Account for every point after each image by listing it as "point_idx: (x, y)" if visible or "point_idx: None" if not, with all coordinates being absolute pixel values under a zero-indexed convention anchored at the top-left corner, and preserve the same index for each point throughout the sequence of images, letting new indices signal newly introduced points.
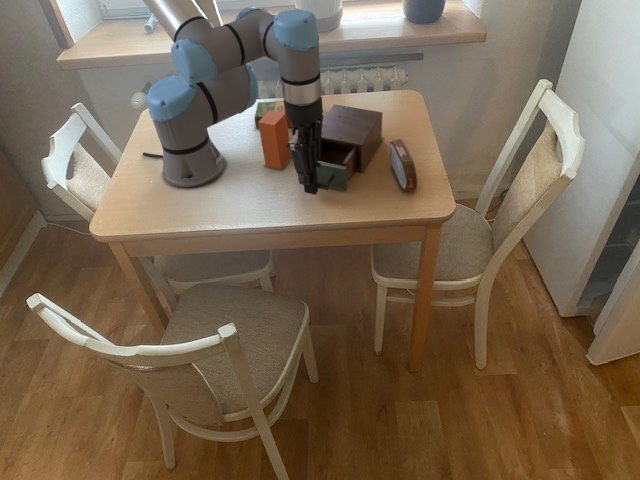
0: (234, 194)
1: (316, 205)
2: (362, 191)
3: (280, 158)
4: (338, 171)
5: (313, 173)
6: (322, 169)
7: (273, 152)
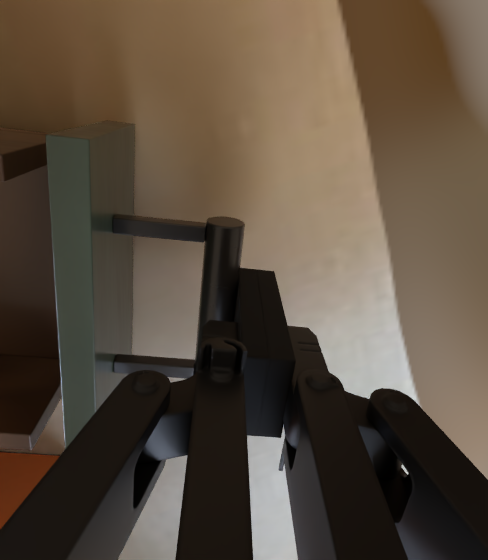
0: (267, 539)
1: (262, 245)
2: (80, 25)
3: None
4: (99, 191)
5: (293, 352)
6: (104, 302)
7: None
